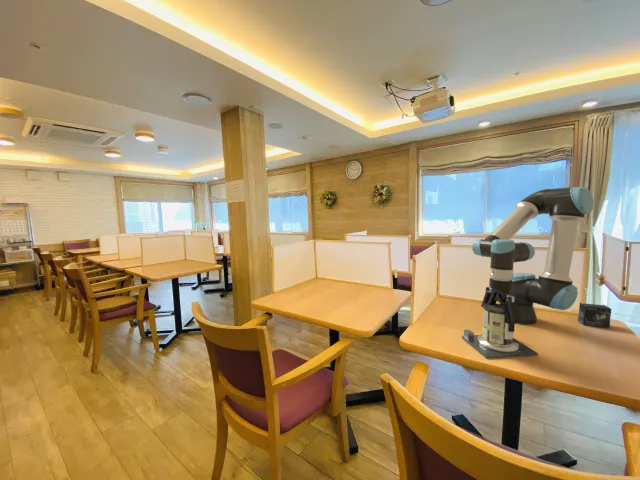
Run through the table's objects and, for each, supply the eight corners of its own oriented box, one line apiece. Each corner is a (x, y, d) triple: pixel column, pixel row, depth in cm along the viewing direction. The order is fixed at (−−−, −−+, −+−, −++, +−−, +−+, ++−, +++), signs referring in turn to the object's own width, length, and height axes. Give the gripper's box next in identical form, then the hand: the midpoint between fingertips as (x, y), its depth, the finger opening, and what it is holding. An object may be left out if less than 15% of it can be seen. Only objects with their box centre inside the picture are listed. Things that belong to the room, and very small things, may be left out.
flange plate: (506, 336, 118) (507, 327, 117) (537, 356, 102) (538, 346, 101) (461, 338, 117) (462, 329, 116) (486, 358, 101) (486, 348, 100)
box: (583, 325, 126) (585, 306, 125) (577, 321, 131) (579, 302, 130) (609, 328, 123) (612, 308, 122) (602, 323, 128) (604, 304, 127)
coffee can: (505, 336, 113) (506, 303, 112) (517, 348, 103) (519, 312, 102) (478, 334, 115) (479, 302, 114) (487, 345, 105) (489, 311, 104)
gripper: (473, 272, 118) (471, 320, 120) (514, 287, 94) (510, 347, 97) (490, 271, 118) (487, 319, 120) (535, 286, 95) (530, 346, 97)
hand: (497, 331), depth 109 cm, fingers open, 11 cm apart
